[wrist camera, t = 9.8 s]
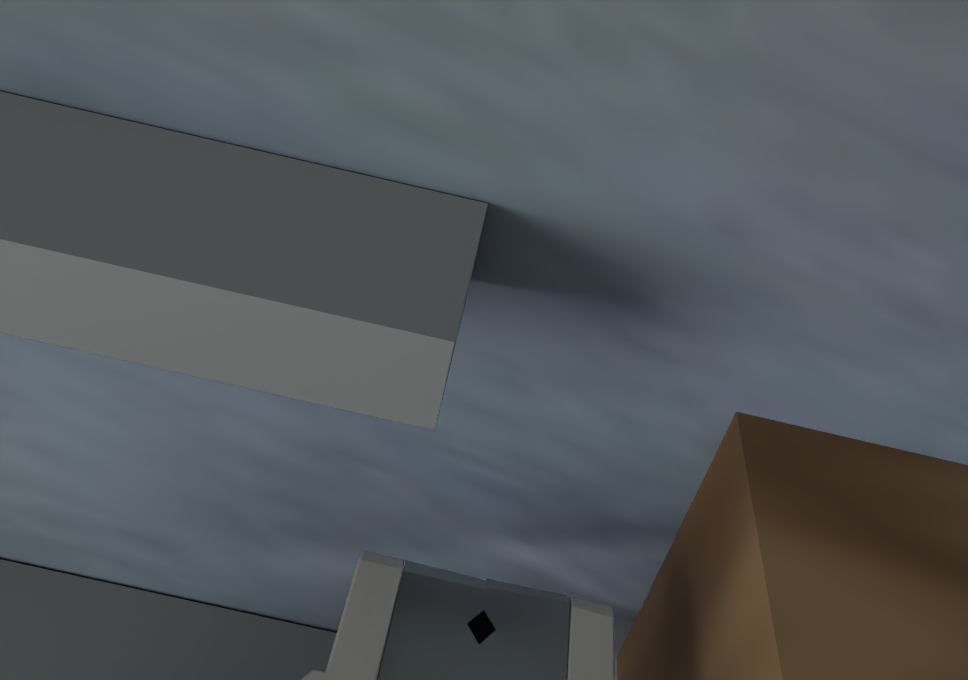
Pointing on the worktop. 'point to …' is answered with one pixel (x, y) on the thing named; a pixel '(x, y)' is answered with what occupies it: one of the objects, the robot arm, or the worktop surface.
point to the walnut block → (811, 566)
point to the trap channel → (212, 336)
